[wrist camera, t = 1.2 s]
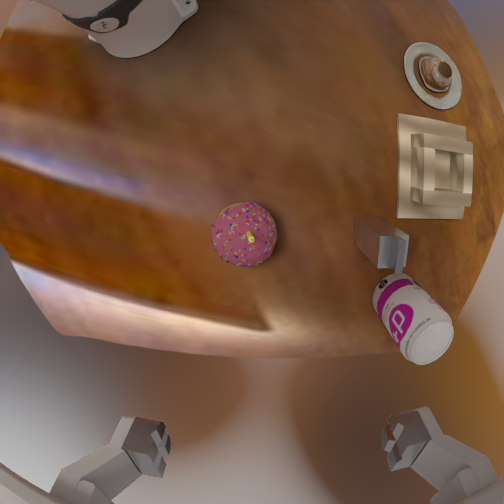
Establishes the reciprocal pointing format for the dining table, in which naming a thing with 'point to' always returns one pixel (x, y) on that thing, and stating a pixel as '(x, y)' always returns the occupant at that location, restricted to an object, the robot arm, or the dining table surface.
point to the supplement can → (412, 318)
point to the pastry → (433, 75)
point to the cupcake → (244, 234)
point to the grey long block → (381, 243)
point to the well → (433, 168)
